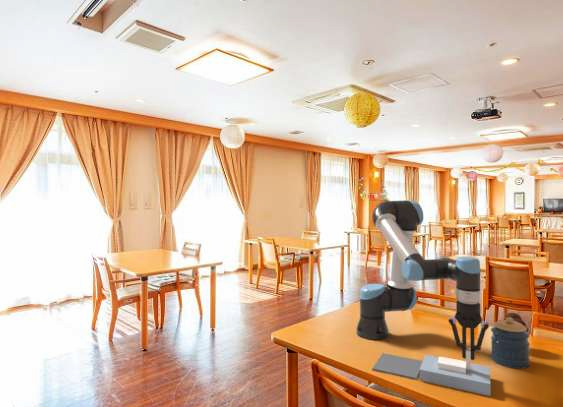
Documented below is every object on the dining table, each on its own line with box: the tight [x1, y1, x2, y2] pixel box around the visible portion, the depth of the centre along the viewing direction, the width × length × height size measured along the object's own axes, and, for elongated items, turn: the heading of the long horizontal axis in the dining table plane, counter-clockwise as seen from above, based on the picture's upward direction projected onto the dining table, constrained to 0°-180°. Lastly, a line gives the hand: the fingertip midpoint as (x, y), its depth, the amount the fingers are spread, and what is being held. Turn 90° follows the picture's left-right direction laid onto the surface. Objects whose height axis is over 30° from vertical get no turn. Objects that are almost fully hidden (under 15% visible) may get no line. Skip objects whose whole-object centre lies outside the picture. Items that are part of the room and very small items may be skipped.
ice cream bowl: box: [502, 312, 529, 334], centre depth 157 cm, size 11×11×15 cm
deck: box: [418, 354, 492, 397], centre depth 130 cm, size 22×14×4 cm, turn 61°
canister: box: [490, 317, 531, 369], centre depth 144 cm, size 13×13×18 cm
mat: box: [371, 352, 423, 380], centre depth 141 cm, size 16×16×1 cm
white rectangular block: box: [438, 356, 466, 374], centre depth 131 cm, size 9×6×2 cm, turn 62°
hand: (468, 367), depth 128 cm, fingers closed
